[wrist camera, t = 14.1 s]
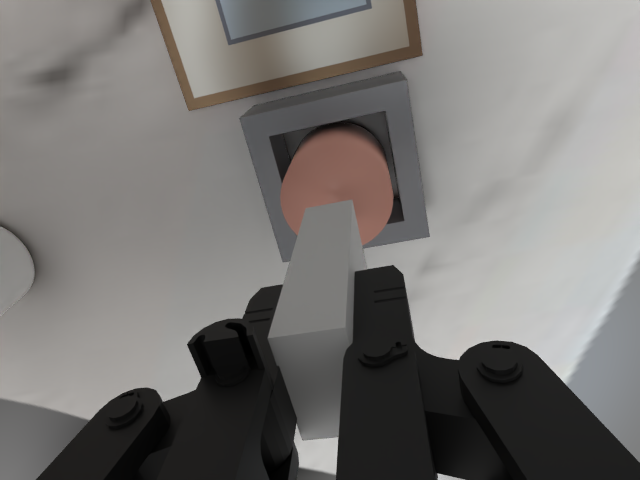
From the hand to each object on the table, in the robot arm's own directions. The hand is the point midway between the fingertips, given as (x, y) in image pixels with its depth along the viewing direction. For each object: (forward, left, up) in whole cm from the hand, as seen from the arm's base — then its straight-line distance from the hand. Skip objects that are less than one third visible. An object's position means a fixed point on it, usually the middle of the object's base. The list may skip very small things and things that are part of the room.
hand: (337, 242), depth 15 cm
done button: (0, 0, -8) cm, 8 cm away
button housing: (0, 0, -9) cm, 9 cm away
